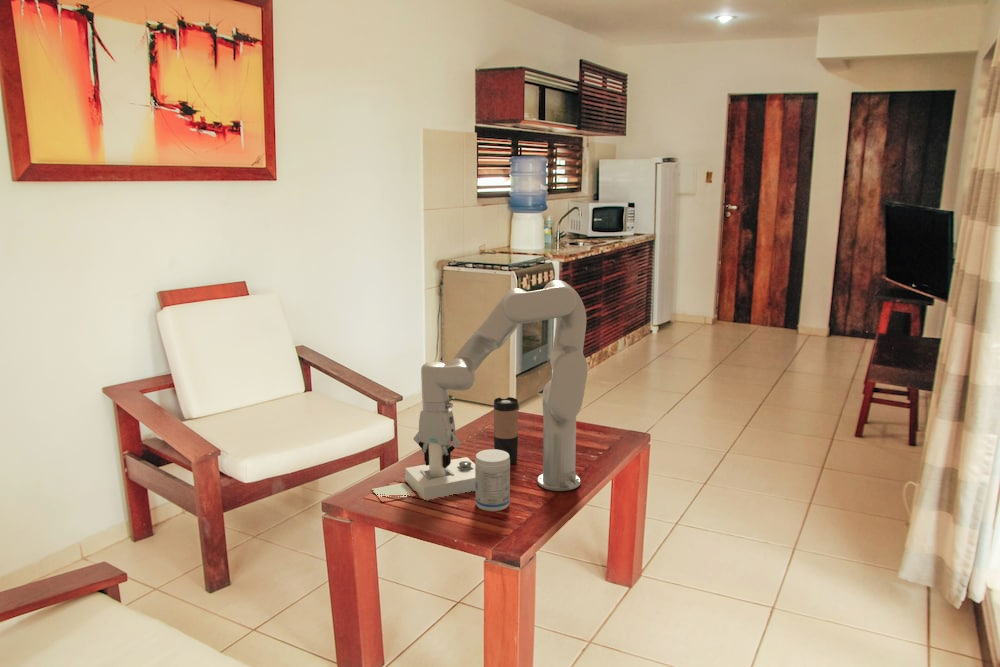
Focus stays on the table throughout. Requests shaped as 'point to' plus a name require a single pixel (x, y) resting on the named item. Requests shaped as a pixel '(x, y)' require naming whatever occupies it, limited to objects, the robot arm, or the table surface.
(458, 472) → the housing
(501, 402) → the travel mug
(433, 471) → the cartridge
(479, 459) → the supplement tub
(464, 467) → the plunger
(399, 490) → the mat
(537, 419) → the table surface
